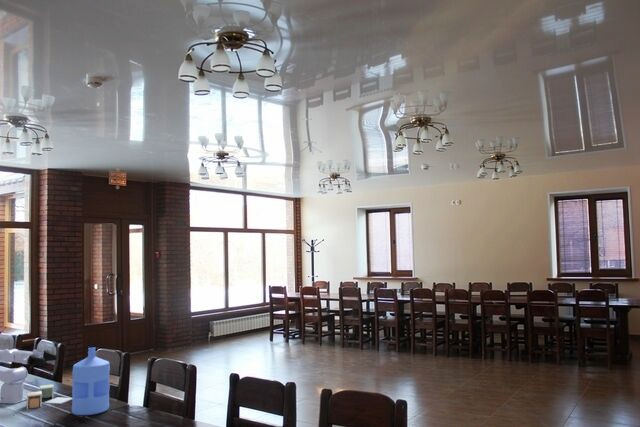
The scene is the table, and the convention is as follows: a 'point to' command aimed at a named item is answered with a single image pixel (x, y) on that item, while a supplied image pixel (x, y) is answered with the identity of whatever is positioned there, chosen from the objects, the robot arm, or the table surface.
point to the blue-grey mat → (58, 400)
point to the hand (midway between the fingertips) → (50, 359)
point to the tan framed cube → (34, 394)
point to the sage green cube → (47, 390)
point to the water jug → (90, 385)
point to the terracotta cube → (34, 402)
